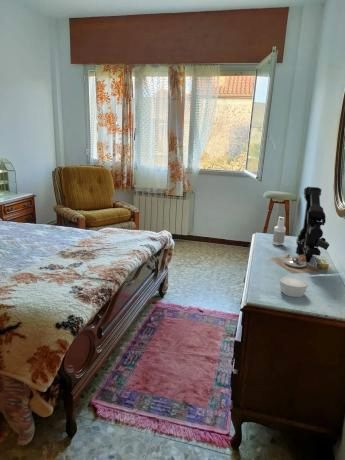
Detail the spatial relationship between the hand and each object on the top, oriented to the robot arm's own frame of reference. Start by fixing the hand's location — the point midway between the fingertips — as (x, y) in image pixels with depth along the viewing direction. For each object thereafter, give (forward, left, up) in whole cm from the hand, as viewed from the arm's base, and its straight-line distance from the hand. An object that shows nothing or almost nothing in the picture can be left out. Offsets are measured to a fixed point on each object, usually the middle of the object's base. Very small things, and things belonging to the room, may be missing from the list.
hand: (307, 262), depth 167 cm
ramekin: (+26, +25, -3) cm, 36 cm away
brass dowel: (+6, -10, -2) cm, 11 cm away
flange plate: (+4, -3, -2) cm, 5 cm away
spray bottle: (-6, -39, -3) cm, 39 cm away
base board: (+6, -3, -3) cm, 7 cm away
